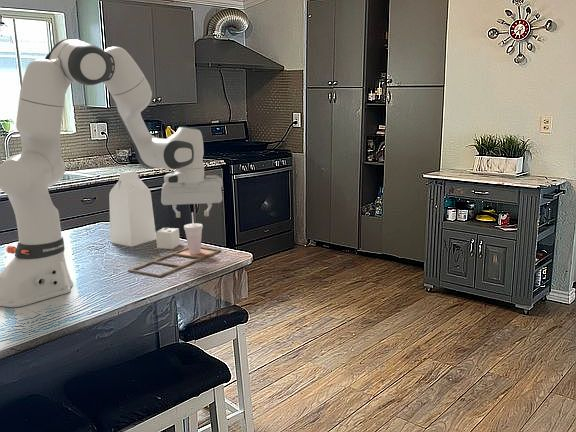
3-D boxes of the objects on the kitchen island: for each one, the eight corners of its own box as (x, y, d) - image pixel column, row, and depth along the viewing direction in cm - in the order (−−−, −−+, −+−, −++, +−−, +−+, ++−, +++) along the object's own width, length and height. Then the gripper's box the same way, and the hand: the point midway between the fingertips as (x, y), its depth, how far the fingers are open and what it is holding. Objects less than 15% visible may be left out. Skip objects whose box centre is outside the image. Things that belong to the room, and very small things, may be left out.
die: (172, 249, 203) (171, 232, 202) (157, 248, 204) (155, 231, 203) (179, 244, 209) (178, 228, 207) (164, 243, 210) (163, 227, 209)
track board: (160, 277, 172) (159, 275, 172) (128, 271, 178) (128, 269, 178) (221, 251, 198) (221, 249, 198) (191, 247, 204) (191, 245, 204)
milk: (135, 235, 223) (130, 168, 217) (156, 239, 216) (151, 170, 211) (110, 242, 213) (104, 172, 207) (131, 246, 207) (125, 174, 201)
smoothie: (203, 249, 200) (201, 210, 197) (205, 254, 194) (203, 214, 191) (184, 251, 199) (182, 211, 196) (186, 256, 193) (183, 215, 190)
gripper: (221, 173, 196) (222, 213, 199) (160, 175, 192) (161, 216, 195) (223, 176, 190) (224, 217, 193) (159, 178, 186) (162, 220, 189)
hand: (192, 216), depth 194 cm, fingers open, 8 cm apart
